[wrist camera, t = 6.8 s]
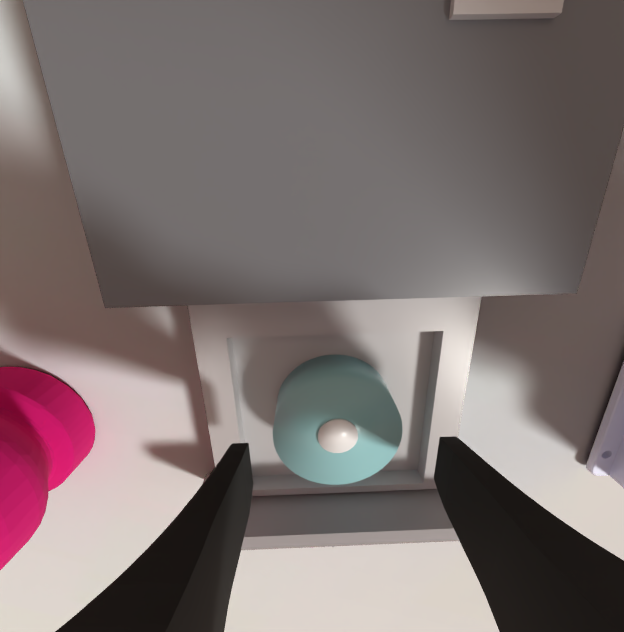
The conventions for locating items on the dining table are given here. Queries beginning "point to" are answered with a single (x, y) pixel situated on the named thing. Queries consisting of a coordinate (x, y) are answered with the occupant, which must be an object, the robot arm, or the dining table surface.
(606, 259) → the dining table surface
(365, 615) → the dining table surface
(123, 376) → the dining table surface
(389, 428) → the disc
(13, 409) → the pepper mill
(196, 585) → the robot arm
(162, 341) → the dining table surface
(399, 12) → the box
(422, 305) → the tray
